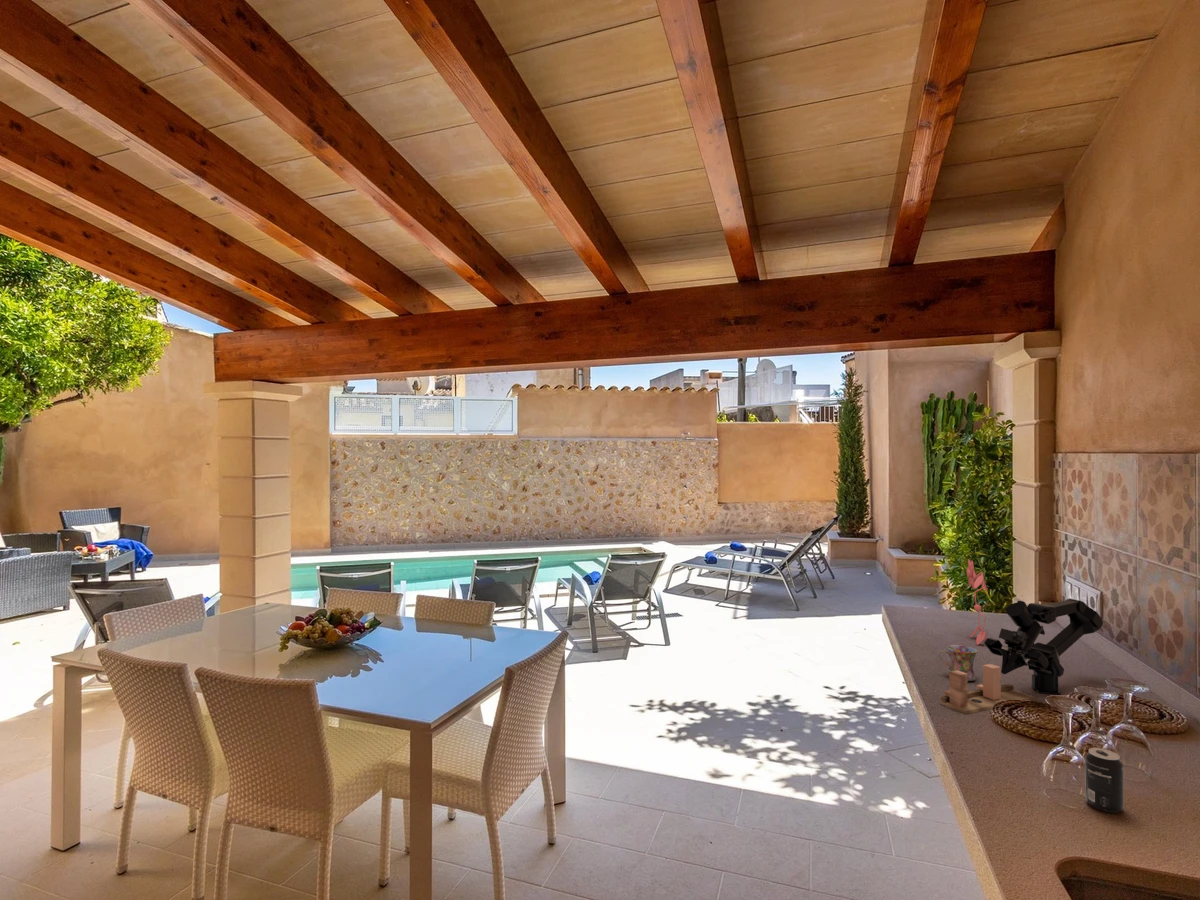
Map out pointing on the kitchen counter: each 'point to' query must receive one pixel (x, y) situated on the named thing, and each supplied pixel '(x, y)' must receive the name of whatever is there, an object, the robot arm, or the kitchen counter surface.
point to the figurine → (977, 583)
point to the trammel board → (975, 695)
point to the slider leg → (991, 682)
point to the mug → (962, 659)
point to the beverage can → (1104, 780)
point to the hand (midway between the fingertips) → (1002, 673)
